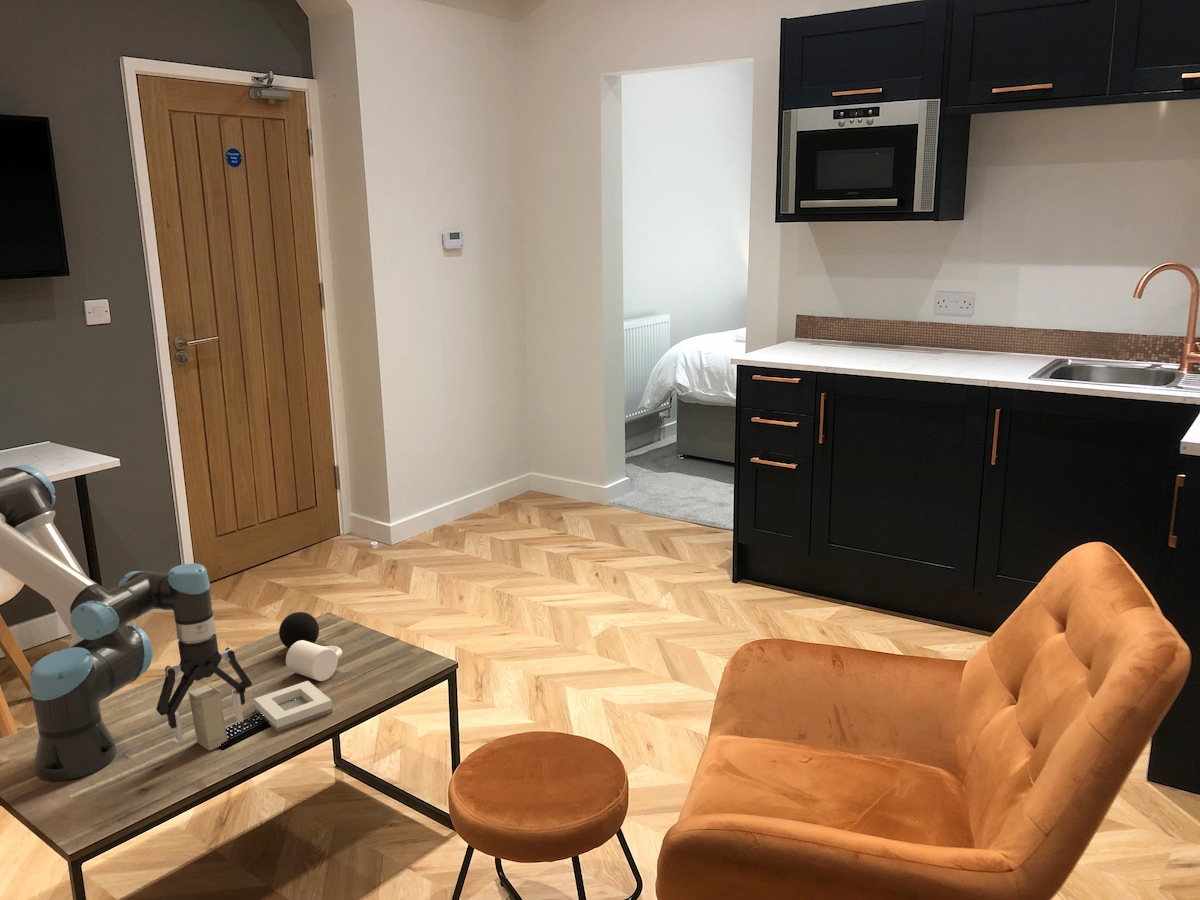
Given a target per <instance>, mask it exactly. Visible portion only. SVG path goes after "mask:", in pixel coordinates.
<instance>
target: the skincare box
mask: <svg viewBox="0 0 1200 900" xmlns="http://www.w3.org/2000/svg"><path fill="white" fill-rule="evenodd" d="M187 694H188V698H189V704H190V709H191V715H192V721H193V726H194V733H195V737H196V743H198V744H199V745H201V747H203V748H205V750H208V751H212V750H215V749H217V748H219V746H220V747H221V744H222V743H224V742H226V741H227V740H228V735H227V729H226V724H225V718H224V717H225V716H224V711H223V710H224V709H223V705H222V699H221V693H220V691H219V690H217V689H215V688H214V687H211V686H210V685H208V684H205V685H202V686H199V687H197V688H194V689H192V690H190V691H189V690H188V691H187Z"/></svg>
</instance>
